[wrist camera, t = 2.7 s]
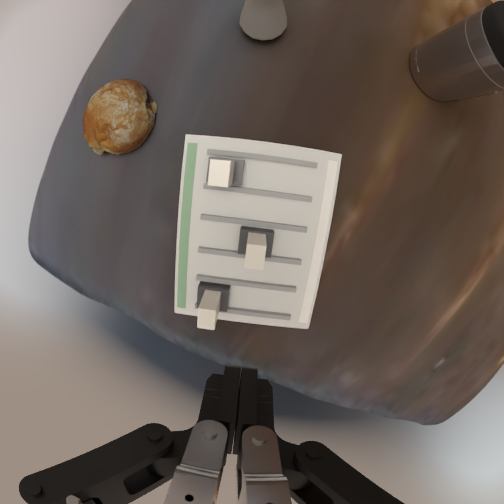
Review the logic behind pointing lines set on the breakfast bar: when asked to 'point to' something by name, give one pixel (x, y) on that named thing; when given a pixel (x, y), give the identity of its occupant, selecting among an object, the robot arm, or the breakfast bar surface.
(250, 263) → the breaker
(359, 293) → the breakfast bar surface
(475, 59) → the robot arm
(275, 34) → the salt shaker
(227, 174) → the breaker
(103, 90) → the bread roll
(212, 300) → the breaker
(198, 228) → the panel
